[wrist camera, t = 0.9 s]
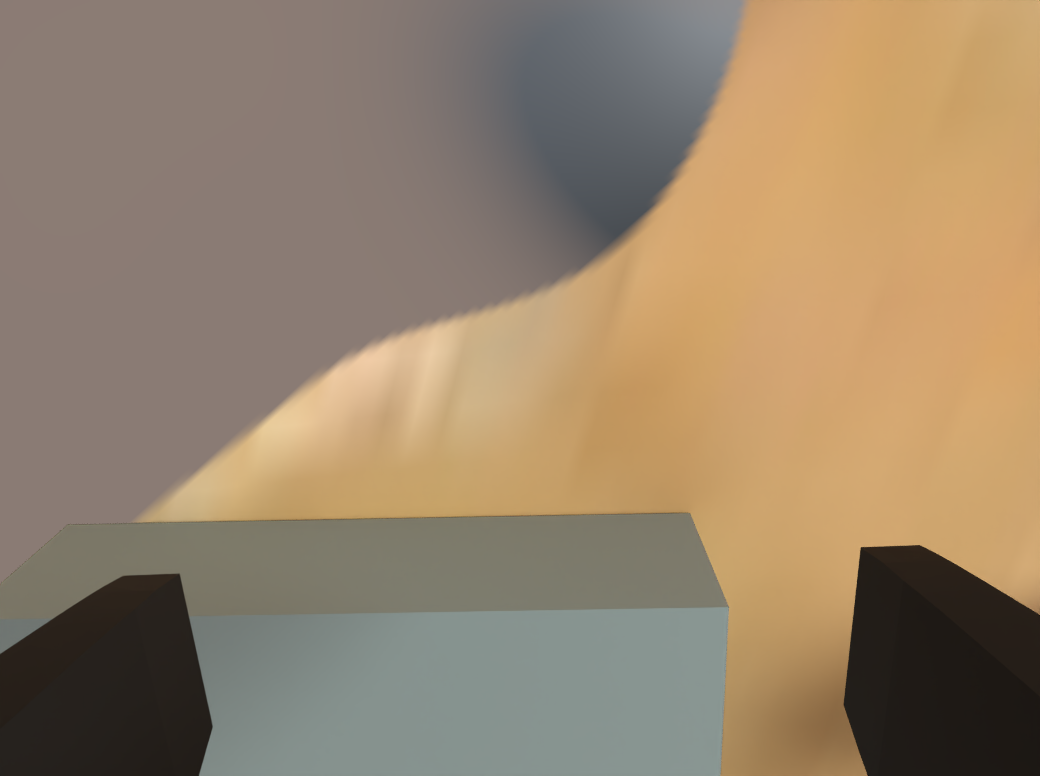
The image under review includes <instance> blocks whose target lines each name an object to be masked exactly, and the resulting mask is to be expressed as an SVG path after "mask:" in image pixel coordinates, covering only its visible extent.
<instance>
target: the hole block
mask: <svg viewBox="0 0 1040 776" xmlns="http://www.w3.org/2000/svg"><path fill="white" fill-rule="evenodd" d="M178 573H180V577H181V582H182V586H183V591H184V596H185V600H186V605H187V609H188V614H189V619H190V623H191V628H192V632H193V637H194V642H195V646H196V651H197V656H198V660H199V665H200V669H201V674H202V679H203V683H204V688H205V692H206V697H207V702H208V706H209V711H210V715H211V720H212V725H213V728H212V732H211V735H210V739H209V742H208V746H207V749H206V753H205V756H204V760H203V763H202V767H201V770H200V774H199V776H720V774H721V754H722V734H723V714H724V693H725V673H726V653H727V633H728V613H729V607H728V604H727V602H726V599H725V597H724V594H723V592H722V590H721V587H720V585H719V582H718V580H717V577H716V575H715V573H714V570H713V568H712V565H711V563H710V561H709V558H708V556H707V553H706V551H705V548H704V546H703V544H702V541H701V539H700V536H699V534H698V532H697V529H696V527H695V524H694V522H693V519H692V517H691V515H690V513H661V514H607V515H553V516H499V517H445V518H390V519H336V520H282V521H228V522H174V523H123V524H122V523H121V524H120V523H119V524H71V525H70V524H68V525H67V526H66V527H65V528H63V530H61V531H60V532H59V533H58V534H57V535H55V536H54V537H53V538H52V539H51V540H50V541H49V542H47V543H46V544H45V545H44V546H43V547H42V548H41V549H39V550H38V551H37V552H36V553H35V554H34V555H33V556H31V557H30V558H29V559H28V560H27V561H26V562H25V563H24V564H22V566H20V567H19V568H18V569H17V570H16V571H14V572H13V573H12V574H11V575H10V576H9V577H8V578H6V579H5V580H4V581H3V582H2V583H1V584H0V654H1V653H2V652H4V651H5V650H7V649H8V648H10V647H11V646H13V645H14V644H16V643H17V642H19V641H20V640H22V639H23V638H25V637H26V636H28V635H29V634H31V633H32V632H34V631H35V630H37V629H38V628H40V627H41V626H43V625H44V624H46V623H47V622H49V621H50V620H52V619H53V618H55V617H56V616H58V615H59V614H61V613H62V612H64V611H65V610H67V609H68V608H70V607H71V606H73V605H75V604H76V603H78V602H79V601H81V600H82V599H84V598H86V597H87V596H89V595H90V594H92V593H94V592H95V591H97V590H98V589H100V588H102V587H104V586H105V585H107V584H109V583H111V582H112V581H114V580H116V579H118V578H120V577H122V576H126V575H152V574H178Z"/></svg>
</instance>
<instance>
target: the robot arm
mask: <svg viewBox="0 0 1040 776" xmlns="http://www.w3.org/2000/svg"><path fill="white" fill-rule="evenodd" d="M844 707H845V710H846V713H847V716H848V719H849V722H850V725H851V728H852V731H853V734H854V737H855V740H856V743H857V746H858V749H859V752H860V755H861V758H862V761H863V764H864V766H865V769H866V772H867V775H868V776H1040V615H1039V614H1037V613H1036V612H1034V611H1032V610H1031V609H1029V608H1027V607H1026V606H1024V605H1022V604H1021V603H1019V602H1018V601H1016V600H1014V599H1013V598H1011V597H1009V596H1008V595H1006V594H1004V593H1003V592H1001V591H999V590H998V589H996V588H994V587H993V586H991V585H990V584H988V583H986V582H985V581H983V580H981V579H980V578H978V577H976V576H974V575H973V574H971V573H969V572H968V571H966V570H964V569H963V568H961V567H959V566H958V565H956V564H954V563H952V562H951V561H949V560H947V559H945V558H943V557H942V556H940V555H938V554H936V553H934V552H932V551H930V550H928V549H926V548H924V547H922V546H920V545H912V546H886V547H861V550H860V559H859V569H858V578H857V587H856V596H855V605H854V615H853V624H852V633H851V642H850V651H849V661H848V670H847V679H846V688H845V697H844ZM212 728H213V725H212V720H211V715H210V711H209V706H208V702H207V697H206V692H205V688H204V683H203V679H202V674H201V669H200V665H199V660H198V656H197V651H196V646H195V642H194V637H193V632H192V628H191V623H190V619H189V614H188V609H187V605H186V600H185V596H184V591H183V586H182V582H181V577H180V573H178V574H152V575H126V576H122V577H120V578H118V579H116V580H114V581H112V582H111V583H109V584H107V585H105V586H104V587H102V588H100V589H98V590H97V591H95V592H94V593H92V594H90V595H89V596H87V597H86V598H84V599H82V600H81V601H79V602H78V603H76V604H75V605H73V606H71V607H70V608H68V609H67V610H65V611H64V612H62V613H61V614H59V615H58V616H56V617H55V618H53V619H52V620H50V621H49V622H47V623H46V624H44V625H43V626H41V627H40V628H38V629H37V630H35V631H34V632H32V633H31V634H29V635H28V636H26V637H25V638H23V639H22V640H20V641H19V642H17V643H16V644H14V645H13V646H11V647H10V648H8V649H7V650H5V651H4V652H2V653H1V654H0V776H199V774H200V770H201V767H202V763H203V760H204V756H205V753H206V749H207V746H208V742H209V739H210V735H211V732H212Z"/></svg>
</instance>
